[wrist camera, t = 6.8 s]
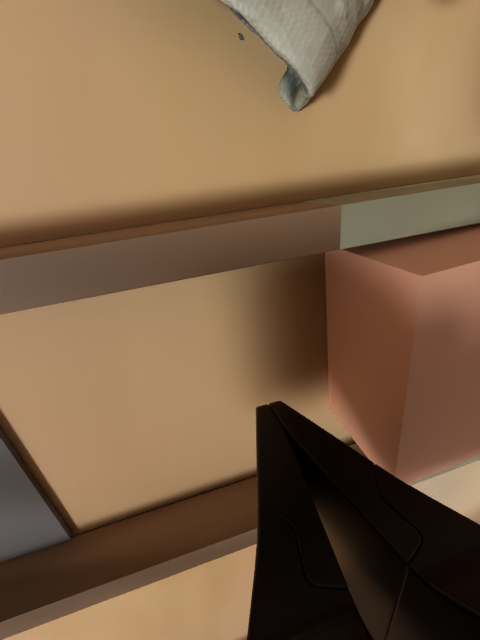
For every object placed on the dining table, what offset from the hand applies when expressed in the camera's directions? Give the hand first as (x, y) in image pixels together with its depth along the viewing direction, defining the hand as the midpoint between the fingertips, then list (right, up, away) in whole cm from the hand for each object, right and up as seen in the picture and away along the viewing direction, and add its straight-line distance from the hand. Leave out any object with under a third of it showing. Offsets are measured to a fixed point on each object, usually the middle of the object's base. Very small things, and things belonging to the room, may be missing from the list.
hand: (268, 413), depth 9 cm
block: (+6, +3, +2) cm, 7 cm away
